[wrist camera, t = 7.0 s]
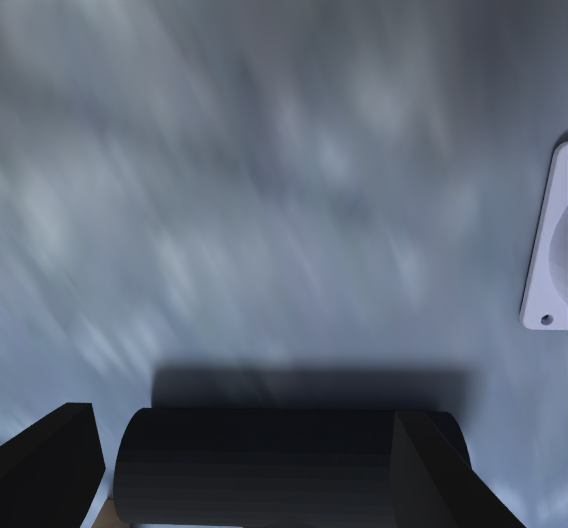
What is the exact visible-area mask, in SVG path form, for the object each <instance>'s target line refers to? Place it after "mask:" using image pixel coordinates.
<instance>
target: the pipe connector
mask: <svg viewBox="0 0 568 528" xmlns="http://www.w3.org/2000/svg"><path fill="white" fill-rule="evenodd" d="M424 413H425V414H426V415H427V416H428V418H429V419H430V420H431V421H432V422H433V424H434V425H435V426H436V427H437V429H438V430H439V431H440V432H441V433H442V435H443V436H444V437H445V438H446V439H447V441H448V442H449V443H450V444H451V445H452V447H453V448H454V449H455V450H456V451H457V453H458V454H459V455H460V456H461V457H462V458H463V460H464V461H465V462H466V463H467V464H468V465H469V467H470V468H471V469H472V467H471V462H470V457H469V453H468V450H467V446H466V443H465V440H464V437H463V434H462V432H461V429H460V427H459V425H458V423H457V422H456V420H455V418H454V417H453V416H452V415H451V414H450V413H448V412H424ZM394 419H395V411H337V410H263V409H189V408H142V409H140V410H138V411H137V412H136V413H135V414H134V416H133V417H132V418H131V420H130V422H129V424H128V426H127V428H126V430H125V432H124V435H123V437H122V440H121V444H120V447H119V451H118V455H117V460H116V465H115V472H114V483H113V499H114V506H115V510H116V514H117V516H118V518H119V519H120V521H122V522H123V523H141V524H173V525H206V526H239V527H243V528H397V525H396V519H395V513H394V507H393V501H392V495H391V488H390V482H389V472H390V461H391V451H392V440H393V430H394Z"/></svg>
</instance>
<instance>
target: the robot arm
mask: <svg viewBox="0 0 568 528" xmlns="http://www.w3.org/2000/svg"><path fill="white" fill-rule="evenodd" d="M545 315H548V318H547V319H546V320H544V321H541V319H542V317H543V316H545ZM520 321H521V323H522V324H523V325H524V326H525V327H527V328H528V329H535V330H568V141H567V142H564V143H562V144H560V145H559V146H558V147H557V148H556V149H555V152H554V154H553V159H552V164H551V169H550V173H549V178H548V183H547V188H546V192H545V197H544V202H543V207H542V212H541V216H540V221H539V226H538V231H537V235H536V240H535V245H534V250H533V255H532V259H531V264H530V269H529V274H528V278H527V283H526V288H525V293H524V298H523V302H522V307H521V312H520ZM105 470H106V467H105V463H104V458H103V453H102V449H101V444H100V440H99V435H98V430H97V426H96V421H95V417H94V412H93V407H92V403H66V404H64V405H62V406H60V407H59V408H57V409H56V410H54V411H52V412H51V413H49V414H48V415H46V416H45V417H43V418H42V419H40V420H39V421H37V422H36V423H34V424H33V425H31V426H30V427H28V428H27V429H25V430H24V431H22V432H21V433H19V434H18V435H16V436H15V437H13V438H12V439H10V440H9V441H7V442H6V443H4V444H3V445H1V446H0V528H80V526H81V524H82V522H83V520H84V519H85V517H86V515H87V513H88V511H89V508H90V506H91V504H92V501H93V499H94V497H95V494H96V492H97V490H98V487H99V485H100V482H101V480H102V477H103V475H104V472H105ZM389 482H390V488H391V495H392V501H393V507H394V513H395V519H396V525H397V528H526V527H525V526H524V525H523V524H522V523H521V522H520V521H519V520H518V519H517V518H516V517H515V516H514V515H513V514H512V512H511V511H510V510H509V509H508V508H507V507H506V506H505V505H504V504H503V503H502V502H501V501H500V500H499V499H498V498H497V497H496V495H495V494H494V493H493V492H492V491H491V490H490V489H489V488H488V487H487V485H486V484H485V483H484V482H483V481H482V480H481V479H480V478H479V477H478V476H477V474H476V473H475V472H474V471H473V470H472V469H471V468H470V467H469V465H468V464H467V463H466V462H465V461H464V460H463V458H462V457H461V456H460V455H459V454H458V453H457V451H456V450H455V449H454V448H453V447H452V445H451V444H450V443H449V442H448V441H447V439H446V438H445V437H444V436H443V435H442V433H441V432H440V431H439V430H438V429H437V427H436V426H435V425H434V424H433V422H432V421H431V420H430V419H429V418H428V416H427V415H426V414H425V413H424V412H423V411H406V410H395V419H394V430H393V440H392V451H391V461H390V472H389Z"/></svg>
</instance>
